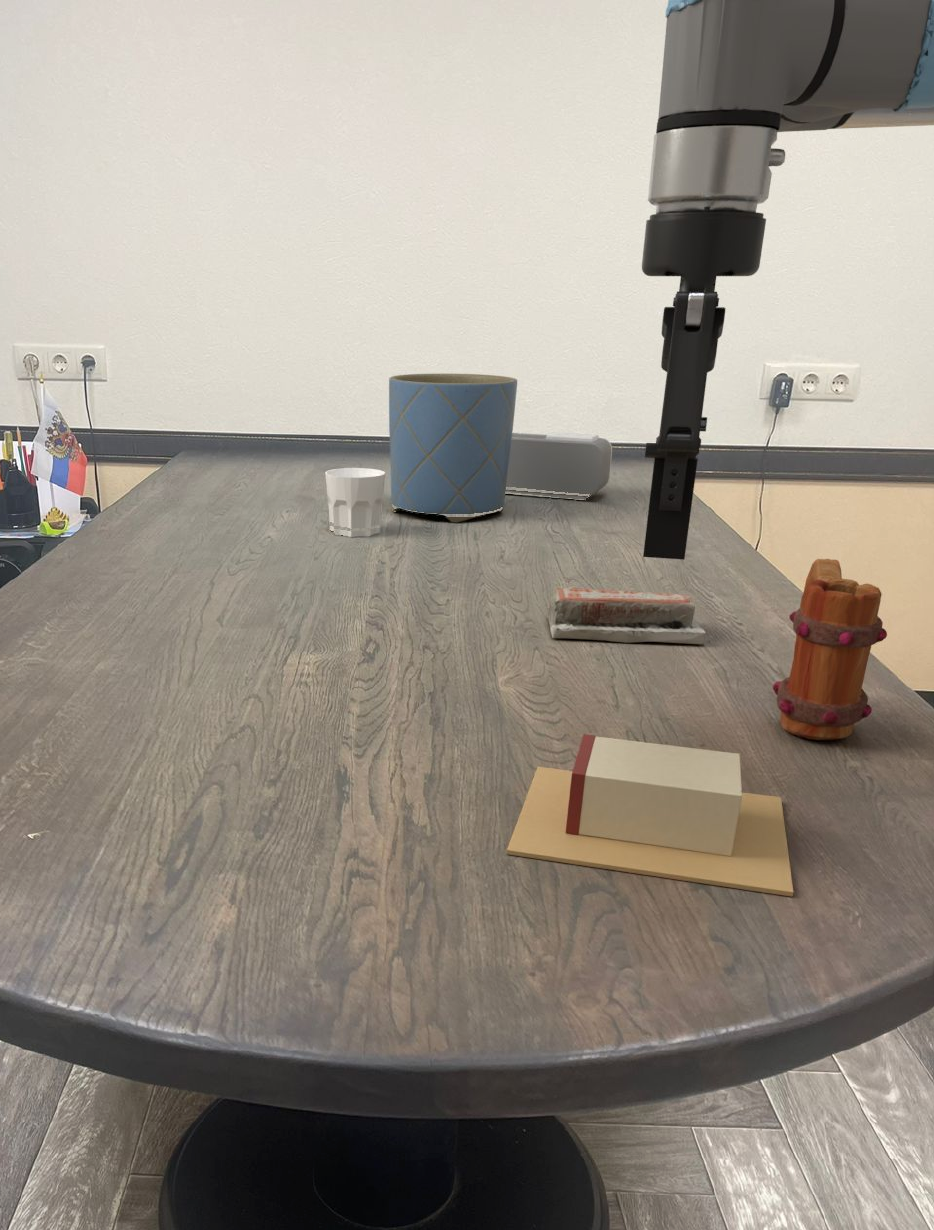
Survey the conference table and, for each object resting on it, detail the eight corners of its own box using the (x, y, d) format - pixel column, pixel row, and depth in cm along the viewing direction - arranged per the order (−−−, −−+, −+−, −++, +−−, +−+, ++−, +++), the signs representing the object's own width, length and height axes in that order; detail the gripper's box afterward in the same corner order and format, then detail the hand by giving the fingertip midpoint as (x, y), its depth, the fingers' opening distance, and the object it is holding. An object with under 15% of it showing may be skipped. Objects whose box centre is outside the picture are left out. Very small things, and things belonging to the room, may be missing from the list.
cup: (391, 536, 181) (392, 476, 176) (333, 539, 178) (333, 478, 174) (375, 525, 189) (376, 467, 185) (319, 527, 187) (319, 469, 183)
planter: (361, 512, 200) (362, 378, 190) (434, 496, 215) (439, 371, 206) (461, 529, 186) (469, 386, 176) (531, 511, 202) (542, 378, 192)
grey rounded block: (607, 495, 218) (614, 434, 213) (597, 502, 210) (604, 439, 205) (478, 485, 228) (482, 426, 223) (464, 492, 220) (467, 431, 215)
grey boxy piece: (553, 600, 126) (549, 580, 135) (550, 640, 128) (546, 617, 137) (711, 606, 125) (696, 584, 134) (705, 646, 127) (690, 622, 136)
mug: (872, 754, 98) (909, 592, 91) (778, 747, 99) (808, 587, 93) (836, 699, 111) (866, 554, 104) (753, 694, 112) (779, 550, 106)
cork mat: (780, 801, 89) (781, 797, 88) (792, 897, 75) (793, 892, 75) (537, 770, 94) (537, 766, 94) (506, 854, 80) (506, 849, 80)
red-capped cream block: (577, 790, 89) (583, 733, 87) (729, 811, 86) (740, 752, 84) (565, 833, 82) (571, 772, 80) (731, 857, 79) (742, 795, 77)
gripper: (781, 195, 58) (723, 581, 67) (758, 219, 80) (716, 508, 89) (638, 197, 60) (600, 572, 69) (653, 220, 82) (623, 503, 91)
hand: (666, 537), depth 79 cm, fingers open, 13 cm apart
